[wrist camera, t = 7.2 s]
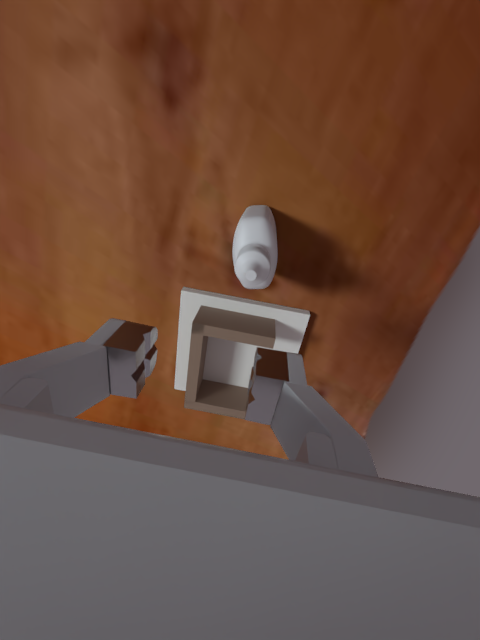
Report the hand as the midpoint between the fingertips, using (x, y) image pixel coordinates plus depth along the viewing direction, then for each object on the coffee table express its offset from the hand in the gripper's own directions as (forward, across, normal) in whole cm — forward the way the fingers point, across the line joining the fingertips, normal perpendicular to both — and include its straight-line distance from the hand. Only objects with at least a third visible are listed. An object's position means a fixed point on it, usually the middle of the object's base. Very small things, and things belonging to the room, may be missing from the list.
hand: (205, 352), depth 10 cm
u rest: (+21, -1, +14) cm, 25 cm away
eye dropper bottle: (+21, -1, 0) cm, 21 cm away
